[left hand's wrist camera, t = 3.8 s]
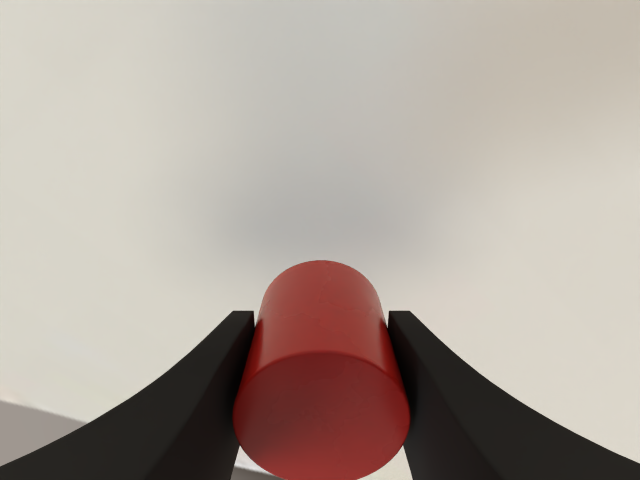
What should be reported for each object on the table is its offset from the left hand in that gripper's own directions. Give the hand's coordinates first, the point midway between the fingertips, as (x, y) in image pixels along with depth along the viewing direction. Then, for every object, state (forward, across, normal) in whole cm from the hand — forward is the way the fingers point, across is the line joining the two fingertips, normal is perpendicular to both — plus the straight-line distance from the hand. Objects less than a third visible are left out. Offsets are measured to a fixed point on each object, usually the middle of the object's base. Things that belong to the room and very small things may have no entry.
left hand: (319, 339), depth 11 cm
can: (+1, 0, 0) cm, 1 cm away
